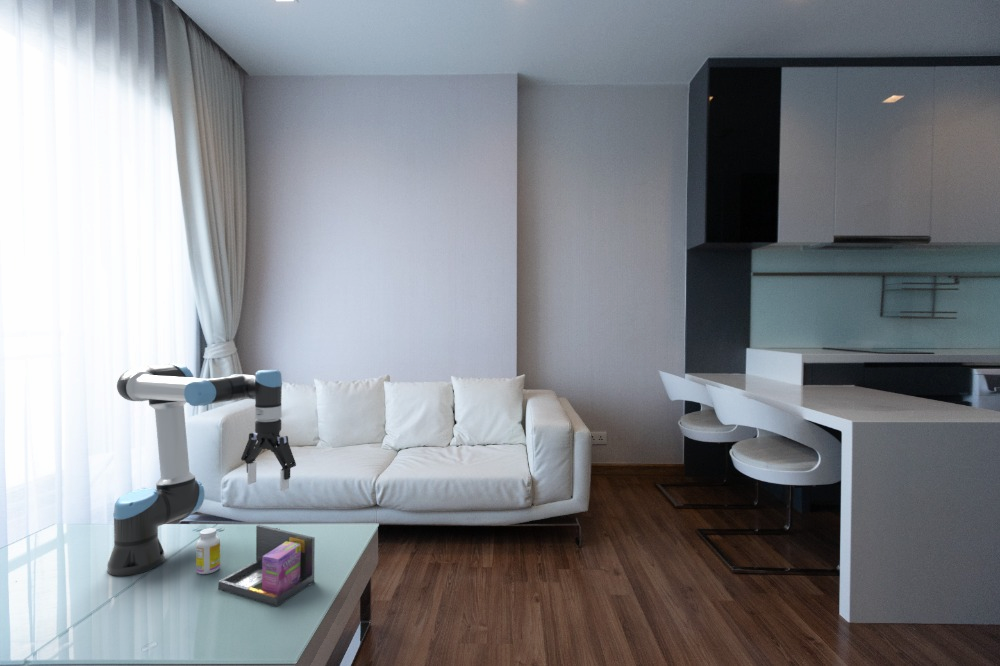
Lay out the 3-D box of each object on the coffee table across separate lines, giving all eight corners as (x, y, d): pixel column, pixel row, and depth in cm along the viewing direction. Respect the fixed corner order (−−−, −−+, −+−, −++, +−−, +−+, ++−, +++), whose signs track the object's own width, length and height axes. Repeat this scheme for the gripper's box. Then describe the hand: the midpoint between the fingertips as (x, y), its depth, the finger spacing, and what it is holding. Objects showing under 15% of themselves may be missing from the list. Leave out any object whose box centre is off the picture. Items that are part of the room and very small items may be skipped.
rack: (218, 589, 152) (218, 543, 152) (258, 566, 166) (258, 524, 166) (276, 607, 144) (277, 558, 143) (314, 581, 158) (314, 537, 157)
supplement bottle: (222, 563, 168) (222, 525, 167) (217, 573, 162) (217, 533, 161) (199, 566, 166) (199, 527, 165) (193, 576, 160) (193, 536, 159)
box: (277, 598, 147) (278, 558, 147) (261, 595, 149) (261, 555, 148) (301, 580, 157) (301, 543, 157) (285, 578, 159) (285, 540, 158)
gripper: (229, 417, 160) (228, 484, 161) (290, 425, 151) (289, 495, 152) (248, 413, 167) (248, 477, 168) (308, 421, 158) (307, 488, 159)
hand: (268, 486), depth 160 cm, fingers open, 13 cm apart
